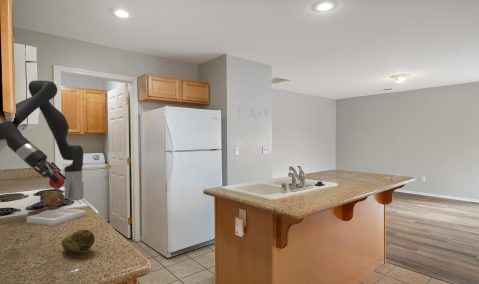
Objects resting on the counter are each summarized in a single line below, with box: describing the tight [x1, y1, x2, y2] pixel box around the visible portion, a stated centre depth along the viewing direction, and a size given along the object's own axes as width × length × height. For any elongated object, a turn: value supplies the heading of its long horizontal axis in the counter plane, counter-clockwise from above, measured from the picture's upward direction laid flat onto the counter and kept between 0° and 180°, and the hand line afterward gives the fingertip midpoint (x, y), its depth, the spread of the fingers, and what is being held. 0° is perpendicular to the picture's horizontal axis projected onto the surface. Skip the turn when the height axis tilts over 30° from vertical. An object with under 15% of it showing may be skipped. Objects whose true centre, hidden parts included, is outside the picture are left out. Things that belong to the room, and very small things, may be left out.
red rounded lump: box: [48, 173, 65, 191], centre depth 121 cm, size 6×6×8 cm
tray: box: [26, 207, 87, 227], centre depth 121 cm, size 16×16×2 cm
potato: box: [61, 229, 96, 253], centre depth 85 cm, size 8×13×8 cm, turn 39°
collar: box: [27, 206, 60, 216], centre depth 132 cm, size 11×11×2 cm
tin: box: [39, 190, 65, 207], centre depth 146 cm, size 15×3×8 cm, turn 73°
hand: (61, 180), depth 122 cm, fingers closed on red rounded lump, 5 cm apart
